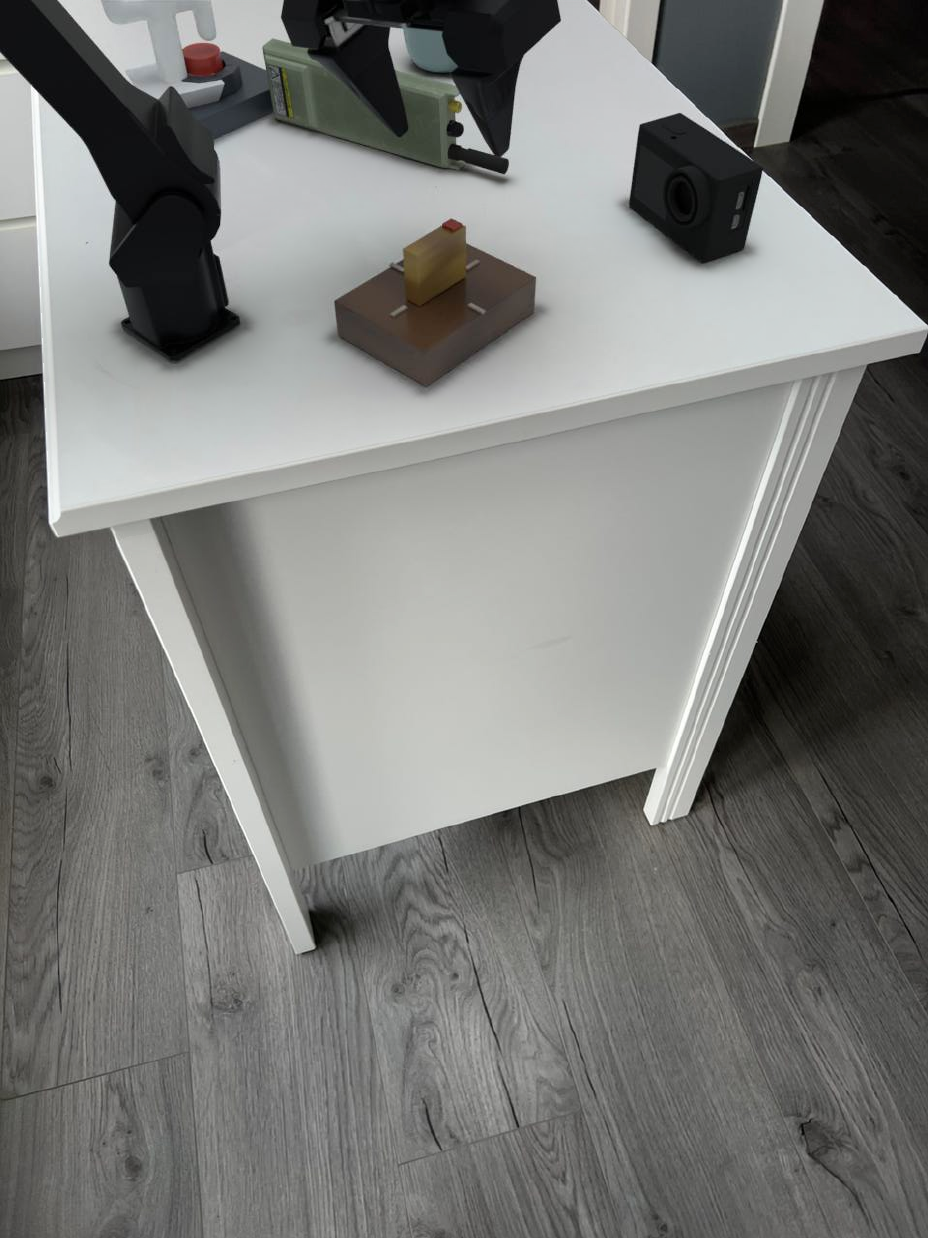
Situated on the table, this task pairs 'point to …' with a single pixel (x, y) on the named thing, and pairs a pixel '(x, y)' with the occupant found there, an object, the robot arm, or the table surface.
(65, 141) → the table surface
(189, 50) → the release button
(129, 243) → the robot arm
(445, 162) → the handheld radio
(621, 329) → the table surface
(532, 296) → the plate
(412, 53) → the cup
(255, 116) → the box
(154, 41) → the white bracket
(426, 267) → the gold box
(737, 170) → the digital camera
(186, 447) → the table surface
